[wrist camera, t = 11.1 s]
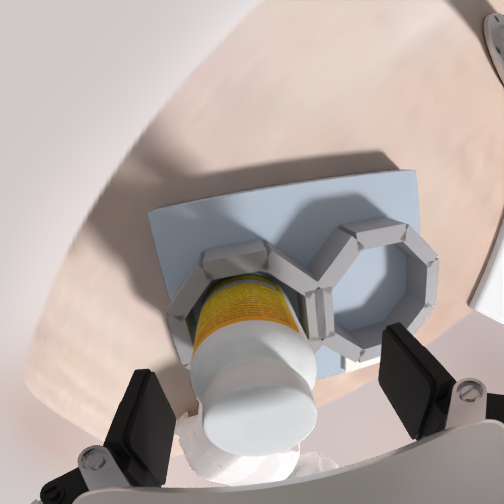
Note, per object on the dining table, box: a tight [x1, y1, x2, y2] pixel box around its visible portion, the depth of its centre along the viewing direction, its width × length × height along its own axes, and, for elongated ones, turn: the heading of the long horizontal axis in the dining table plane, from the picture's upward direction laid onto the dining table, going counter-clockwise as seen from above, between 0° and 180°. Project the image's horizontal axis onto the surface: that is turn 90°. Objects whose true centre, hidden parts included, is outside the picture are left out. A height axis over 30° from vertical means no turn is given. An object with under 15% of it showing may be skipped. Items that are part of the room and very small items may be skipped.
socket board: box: [147, 170, 439, 380], centre depth 18 cm, size 17×14×4 cm
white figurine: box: [174, 397, 339, 486], centre depth 20 cm, size 9×8×15 cm
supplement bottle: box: [190, 272, 317, 457], centre depth 13 cm, size 5×5×10 cm
